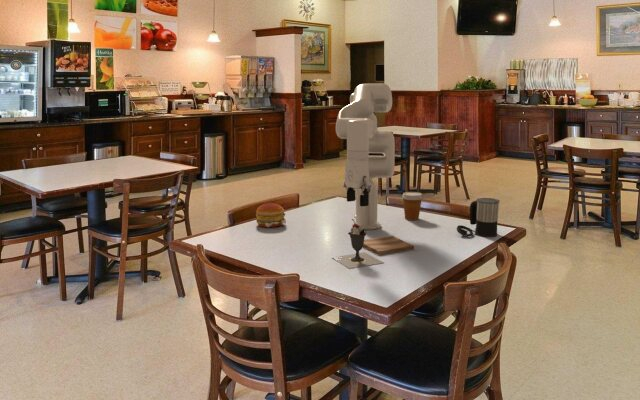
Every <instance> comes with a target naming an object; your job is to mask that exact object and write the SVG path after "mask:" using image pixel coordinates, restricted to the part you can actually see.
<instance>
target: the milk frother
mask: <svg viewBox="0 0 640 400" xmlns="http://www.w3.org/2000/svg"><path fill="white" fill-rule="evenodd" d="M499 206H500V200H499V199H496V198H491V197H479V198H477V199H476V200H473V201H472V202H471V203H470V205H469V224H470V225H472V226H473V225H474V226H475V229H474V230H473V229H472V228H470V227H467V226H465V225H462V224H461V225H457V226H456V231H457V233H459V235H461V236H462V237H472V236H473V235H474V234H475V236H479V237H487V238H491V237H492V238H493V237H494V238H495V237H497V236H498V220H499V209H500V207H499Z"/></svg>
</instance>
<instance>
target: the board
mask: <svg viewBox="0 0 640 400" xmlns="http://www.w3.org/2000/svg"><path fill="white" fill-rule="evenodd" d="M363 248H364V249H365V250H367V251H369V252H372V253H374V254H375V255H377V256H381V255H382V256H383V255H387V254H394V253H401V252H408V251H412V250H415V245H413V244H411V243H410V242H407V241H404V240H402V239H400V238H398V237H396V236H393V235H389V236H382V237H375V238H367V239H364V245H363Z"/></svg>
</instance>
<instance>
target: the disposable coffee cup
mask: <svg viewBox="0 0 640 400" xmlns="http://www.w3.org/2000/svg"><path fill="white" fill-rule="evenodd" d="M401 197H402V202H403V211H404V213H403V214H404V219H405V220H407V221H418V220H419V219H420V212H421V206H422V199H423V194H422V193H421V192H416V191H406V192H403V194H402V195H401Z"/></svg>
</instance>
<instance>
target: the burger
mask: <svg viewBox="0 0 640 400" xmlns="http://www.w3.org/2000/svg"><path fill="white" fill-rule="evenodd" d="M255 212H256V213H255V216H256V219H255V221H256V223H257V225H258V226H260V227H263V228H264V227H265V228H275V227H280V226H282V225H283V224H284V225H286V223H287V221H286V218H285V217H286V216H285V215H286V212H285V209H284V207H283V206H282V205H280V204H277V203H272V202H269V203H268V202H267V203H264V204H261V205H260V206H258V207H257V209H256V211H255Z"/></svg>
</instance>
